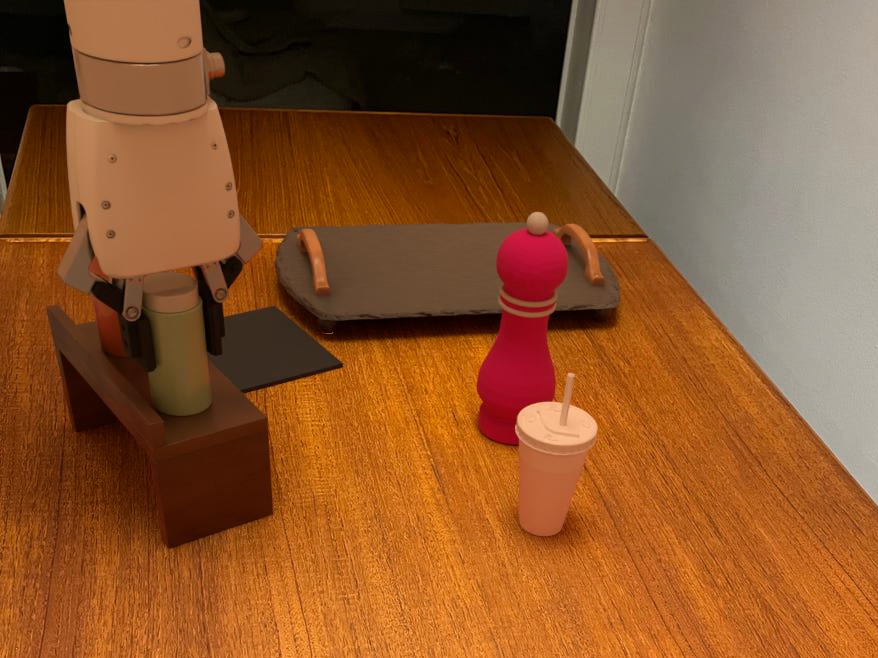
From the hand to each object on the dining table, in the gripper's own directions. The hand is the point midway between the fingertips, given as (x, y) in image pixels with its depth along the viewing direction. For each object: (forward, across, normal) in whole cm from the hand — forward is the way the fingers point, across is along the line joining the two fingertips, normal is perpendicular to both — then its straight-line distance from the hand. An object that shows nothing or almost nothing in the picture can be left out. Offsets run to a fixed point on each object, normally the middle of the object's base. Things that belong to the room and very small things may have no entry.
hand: (176, 353), depth 73 cm
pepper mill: (+13, -30, +4) cm, 33 cm away
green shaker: (+4, 0, 0) cm, 4 cm away
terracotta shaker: (+4, 0, -10) cm, 11 cm away
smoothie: (+13, -23, +17) cm, 31 cm away
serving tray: (+13, -42, -23) cm, 50 cm away
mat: (+13, -15, -20) cm, 28 cm away
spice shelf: (+13, 0, -5) cm, 14 cm away
